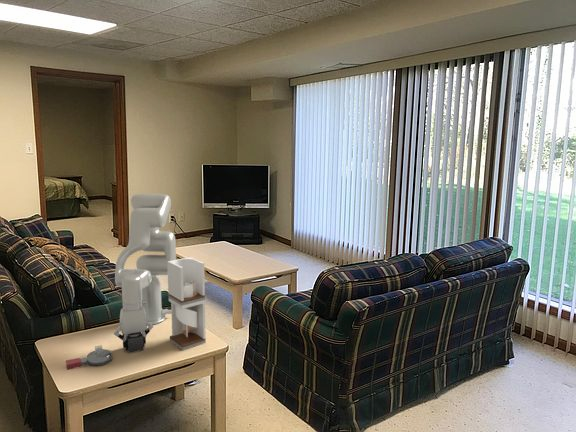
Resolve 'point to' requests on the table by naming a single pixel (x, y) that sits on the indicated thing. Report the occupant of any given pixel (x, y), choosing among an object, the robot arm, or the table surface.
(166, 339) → the table surface
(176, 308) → the two-tier white tower
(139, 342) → the socket
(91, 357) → the ratchet
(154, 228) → the robot arm
